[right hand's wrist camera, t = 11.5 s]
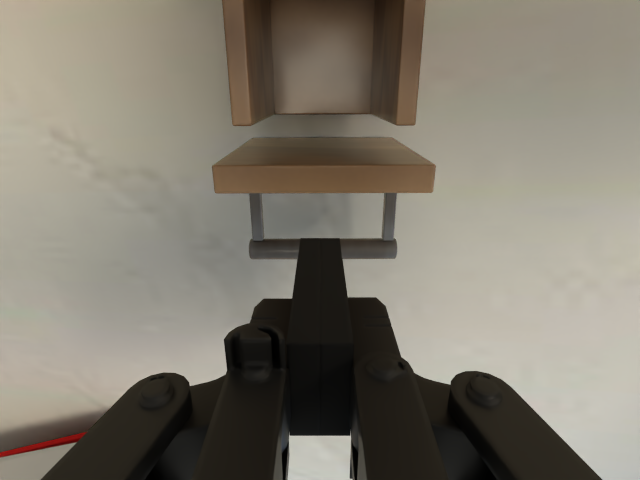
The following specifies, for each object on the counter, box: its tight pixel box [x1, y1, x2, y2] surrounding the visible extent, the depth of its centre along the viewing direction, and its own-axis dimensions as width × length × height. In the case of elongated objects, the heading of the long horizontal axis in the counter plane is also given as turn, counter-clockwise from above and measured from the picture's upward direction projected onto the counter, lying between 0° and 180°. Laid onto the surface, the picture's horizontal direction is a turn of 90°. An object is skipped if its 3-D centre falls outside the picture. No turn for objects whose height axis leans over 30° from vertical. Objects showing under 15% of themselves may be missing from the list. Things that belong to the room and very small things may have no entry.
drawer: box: [212, 0, 436, 259], centre depth 19 cm, size 21×9×10 cm, turn 0°
